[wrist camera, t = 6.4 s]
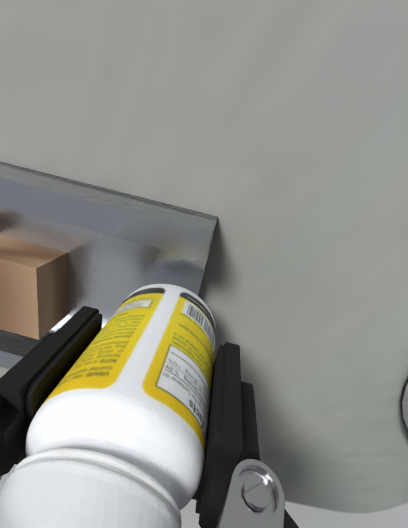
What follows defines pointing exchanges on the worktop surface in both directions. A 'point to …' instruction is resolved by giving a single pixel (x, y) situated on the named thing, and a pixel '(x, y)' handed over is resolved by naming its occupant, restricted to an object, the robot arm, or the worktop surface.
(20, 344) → the channel
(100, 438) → the supplement bottle
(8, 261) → the brown block
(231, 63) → the worktop surface
